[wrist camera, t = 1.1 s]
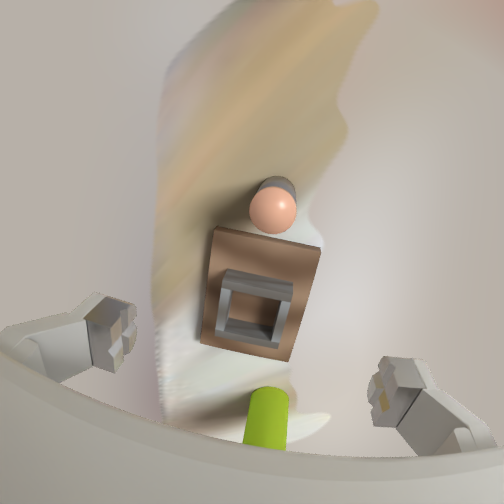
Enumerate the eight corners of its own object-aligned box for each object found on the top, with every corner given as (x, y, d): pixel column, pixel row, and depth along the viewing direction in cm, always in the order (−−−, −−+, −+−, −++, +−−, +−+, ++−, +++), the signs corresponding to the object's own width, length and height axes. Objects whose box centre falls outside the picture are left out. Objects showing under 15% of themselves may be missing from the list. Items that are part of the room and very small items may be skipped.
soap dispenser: (238, 393, 46) (212, 505, 27) (278, 382, 44) (265, 502, 26) (256, 415, 47) (238, 521, 29) (294, 405, 46) (288, 517, 27)
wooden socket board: (217, 226, 36) (207, 238, 32) (320, 247, 36) (323, 263, 32) (202, 336, 42) (194, 357, 38) (288, 355, 42) (287, 377, 38)
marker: (262, 172, 34) (253, 184, 26) (298, 180, 33) (300, 193, 26) (255, 207, 35) (245, 228, 28) (291, 215, 35) (290, 238, 28)
